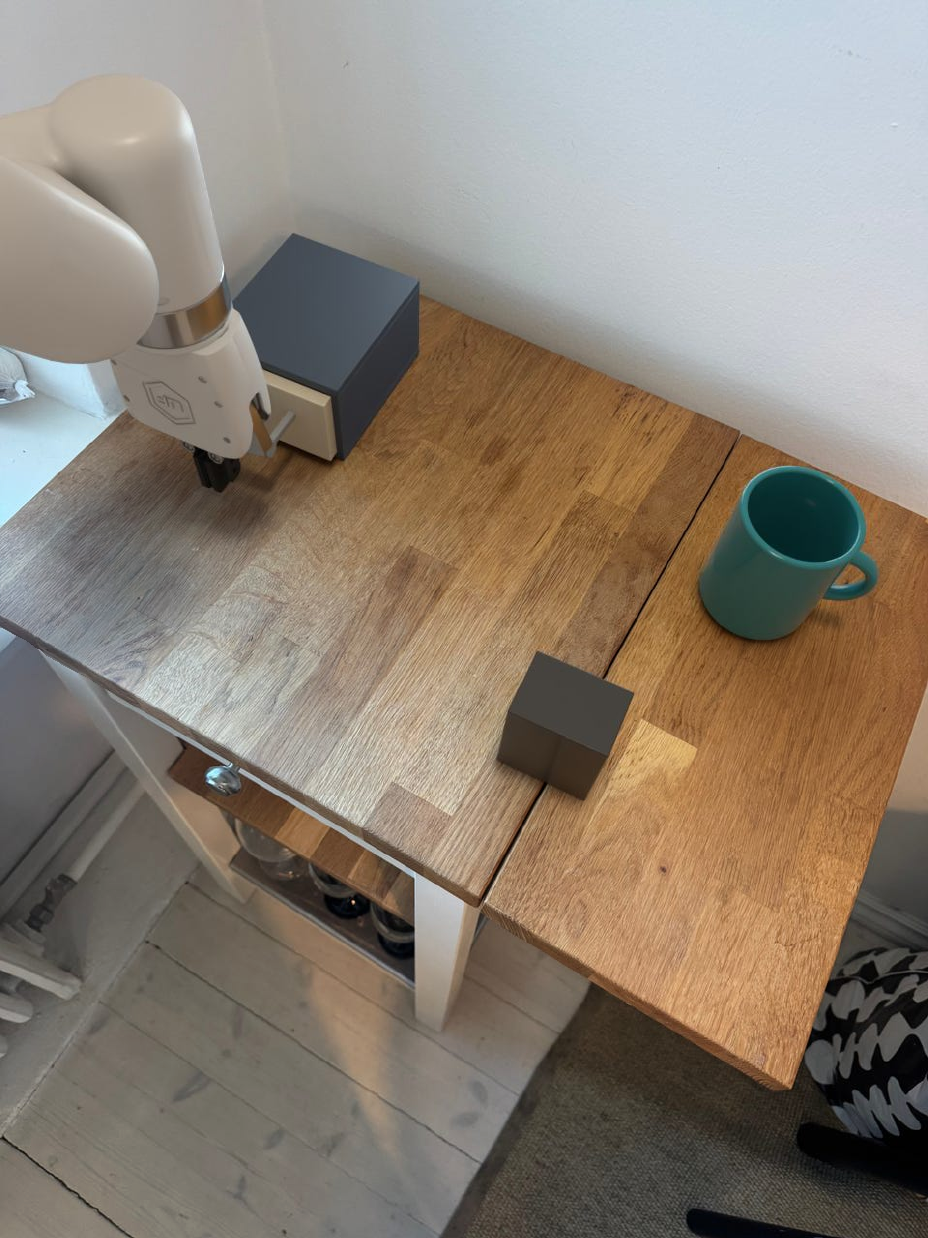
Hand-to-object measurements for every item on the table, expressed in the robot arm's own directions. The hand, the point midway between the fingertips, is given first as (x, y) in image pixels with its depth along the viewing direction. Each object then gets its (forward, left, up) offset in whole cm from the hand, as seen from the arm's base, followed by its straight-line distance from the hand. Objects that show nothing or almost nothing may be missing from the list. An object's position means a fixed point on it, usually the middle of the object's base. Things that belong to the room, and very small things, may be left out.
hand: (222, 477), depth 72 cm
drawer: (0, +12, -3) cm, 12 cm away
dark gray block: (+33, -8, -4) cm, 34 cm away
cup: (+44, +12, -4) cm, 46 cm away
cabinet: (0, +16, -4) cm, 16 cm away
